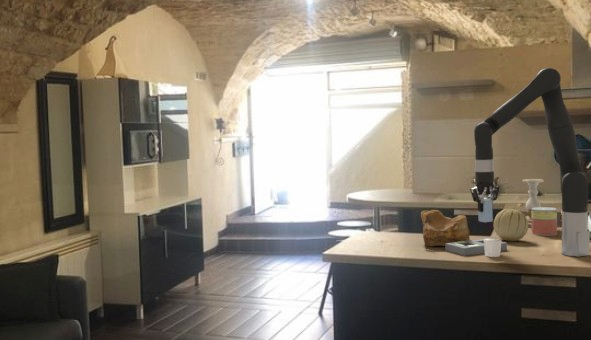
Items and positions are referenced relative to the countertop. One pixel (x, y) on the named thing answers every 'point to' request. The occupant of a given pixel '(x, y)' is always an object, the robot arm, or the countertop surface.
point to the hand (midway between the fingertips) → (485, 211)
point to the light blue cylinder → (486, 211)
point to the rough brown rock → (443, 228)
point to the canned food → (544, 221)
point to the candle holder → (532, 198)
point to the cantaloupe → (510, 224)
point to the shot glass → (492, 247)
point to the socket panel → (469, 247)
